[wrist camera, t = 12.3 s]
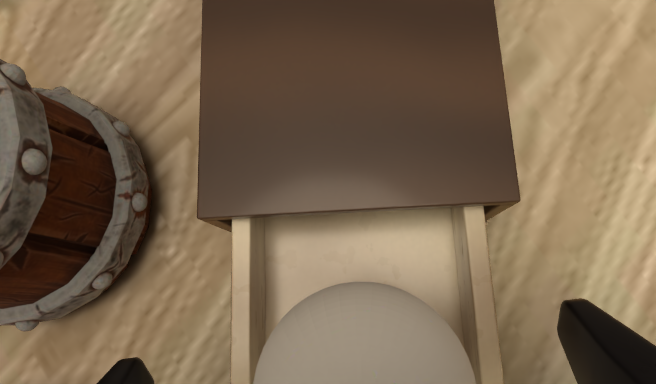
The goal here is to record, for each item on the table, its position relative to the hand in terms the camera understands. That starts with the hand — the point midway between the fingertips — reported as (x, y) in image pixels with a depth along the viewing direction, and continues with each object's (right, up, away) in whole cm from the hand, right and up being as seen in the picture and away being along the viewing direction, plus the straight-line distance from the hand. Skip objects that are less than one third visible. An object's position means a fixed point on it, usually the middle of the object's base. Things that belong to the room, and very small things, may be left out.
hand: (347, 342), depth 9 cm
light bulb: (+1, -4, +10) cm, 10 cm away
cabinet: (+1, +10, +14) cm, 17 cm away
